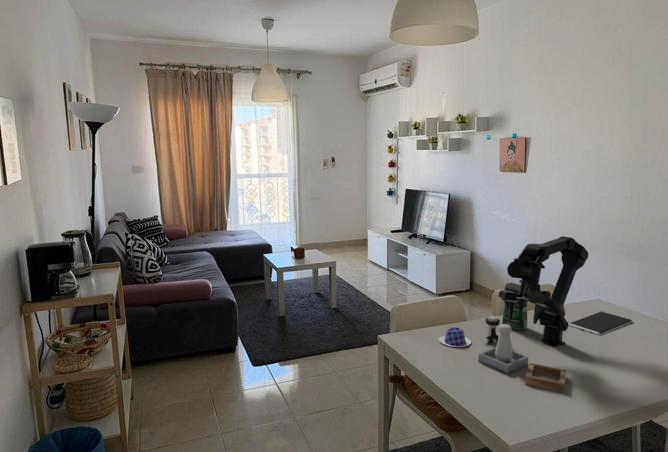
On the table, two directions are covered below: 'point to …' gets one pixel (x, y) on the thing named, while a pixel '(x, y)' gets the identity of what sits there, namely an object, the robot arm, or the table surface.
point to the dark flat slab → (600, 323)
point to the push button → (492, 329)
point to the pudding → (455, 338)
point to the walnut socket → (546, 382)
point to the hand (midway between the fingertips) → (522, 321)
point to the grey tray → (491, 360)
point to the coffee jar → (516, 310)
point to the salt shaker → (504, 344)
